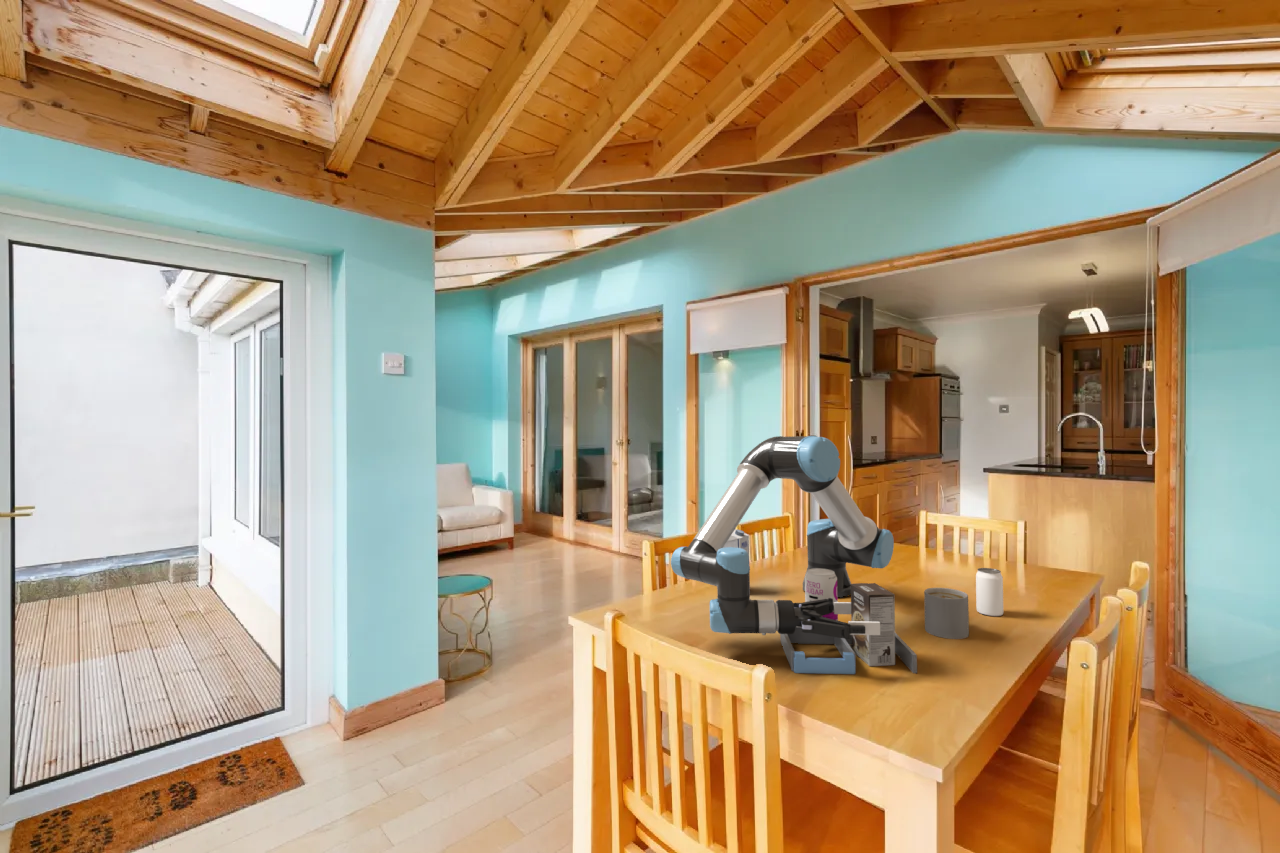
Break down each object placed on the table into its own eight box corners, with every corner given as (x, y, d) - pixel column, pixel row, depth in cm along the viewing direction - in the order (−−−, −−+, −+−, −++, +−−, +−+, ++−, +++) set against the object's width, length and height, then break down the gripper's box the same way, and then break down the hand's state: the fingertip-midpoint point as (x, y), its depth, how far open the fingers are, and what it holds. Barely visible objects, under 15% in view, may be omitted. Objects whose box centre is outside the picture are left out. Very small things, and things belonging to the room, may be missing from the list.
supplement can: (838, 624, 155) (837, 568, 155) (838, 635, 147) (836, 576, 147) (806, 621, 158) (805, 567, 158) (805, 632, 150) (803, 574, 150)
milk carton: (731, 586, 193) (730, 526, 193) (750, 589, 189) (748, 528, 189) (721, 591, 187) (720, 530, 187) (740, 595, 183) (739, 532, 183)
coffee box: (850, 651, 137) (849, 583, 137) (876, 649, 138) (875, 582, 138) (869, 667, 128) (867, 594, 128) (896, 665, 129) (895, 593, 129)
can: (1007, 617, 158) (1006, 573, 158) (981, 616, 160) (980, 572, 159) (997, 609, 165) (997, 567, 165) (972, 608, 166) (972, 567, 166)
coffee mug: (963, 642, 141) (962, 601, 141) (919, 632, 148) (919, 593, 148) (976, 627, 151) (975, 589, 151) (935, 619, 158) (934, 582, 158)
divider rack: (780, 641, 144) (780, 625, 144) (890, 643, 141) (890, 626, 141) (793, 673, 126) (792, 654, 126) (919, 676, 123) (919, 656, 123)
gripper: (769, 615, 147) (855, 616, 145) (784, 654, 122) (888, 655, 120) (769, 585, 147) (855, 586, 145) (783, 618, 122) (887, 619, 120)
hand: (870, 617), depth 133 cm, fingers open, 13 cm apart
